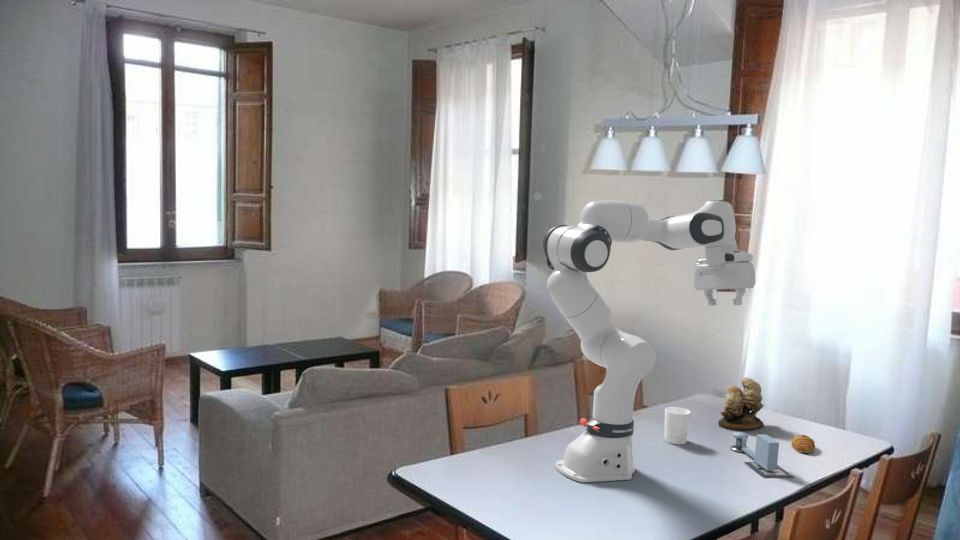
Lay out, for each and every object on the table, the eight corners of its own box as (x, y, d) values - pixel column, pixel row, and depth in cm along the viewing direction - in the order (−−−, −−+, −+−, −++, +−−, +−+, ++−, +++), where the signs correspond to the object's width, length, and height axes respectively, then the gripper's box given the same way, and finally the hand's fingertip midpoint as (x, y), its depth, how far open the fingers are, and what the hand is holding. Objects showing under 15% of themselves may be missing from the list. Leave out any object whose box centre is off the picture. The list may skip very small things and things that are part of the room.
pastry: (816, 456, 225) (818, 444, 225) (793, 453, 227) (794, 441, 227) (813, 447, 234) (814, 435, 234) (790, 444, 236) (791, 432, 236)
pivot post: (739, 453, 224) (740, 441, 224) (726, 448, 229) (727, 436, 228) (751, 451, 226) (752, 439, 226) (739, 446, 231) (740, 434, 231)
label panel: (763, 477, 205) (763, 475, 205) (744, 463, 216) (744, 461, 216) (793, 477, 207) (793, 475, 207) (773, 462, 217) (773, 461, 217)
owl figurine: (745, 417, 263) (749, 370, 261) (773, 427, 253) (778, 379, 251) (709, 423, 254) (714, 374, 252) (737, 434, 244) (742, 383, 242)
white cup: (685, 438, 237) (688, 407, 236) (690, 446, 229) (692, 415, 228) (660, 436, 237) (663, 406, 236) (664, 444, 230) (666, 413, 229)
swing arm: (729, 444, 229) (731, 419, 228) (742, 444, 230) (744, 419, 229) (764, 470, 208) (766, 442, 208) (778, 470, 209) (781, 442, 208)
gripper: (687, 260, 219) (690, 306, 219) (741, 254, 201) (744, 305, 201) (702, 259, 222) (705, 305, 222) (757, 254, 205) (761, 304, 204)
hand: (724, 305), depth 211 cm, fingers open, 8 cm apart
